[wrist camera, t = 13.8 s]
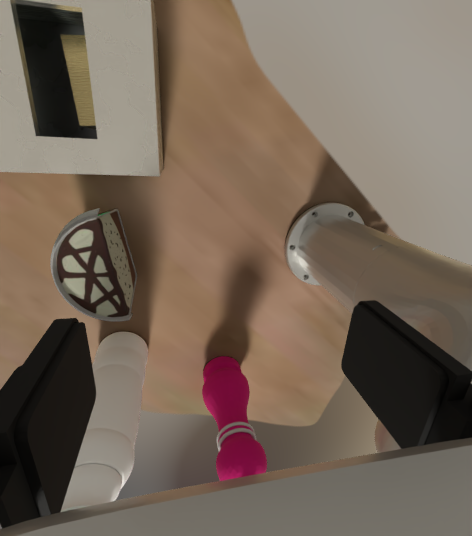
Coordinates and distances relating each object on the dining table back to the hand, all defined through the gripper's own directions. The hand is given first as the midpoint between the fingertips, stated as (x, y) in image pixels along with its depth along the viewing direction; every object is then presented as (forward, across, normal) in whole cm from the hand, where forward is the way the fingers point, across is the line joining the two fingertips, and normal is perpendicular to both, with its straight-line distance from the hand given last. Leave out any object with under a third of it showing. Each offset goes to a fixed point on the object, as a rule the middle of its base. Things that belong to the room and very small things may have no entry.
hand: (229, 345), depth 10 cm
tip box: (+30, +10, -11) cm, 34 cm away
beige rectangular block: (+27, +10, -15) cm, 32 cm away
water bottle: (+31, +10, +22) cm, 39 cm away
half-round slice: (+31, +11, +6) cm, 33 cm away
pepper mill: (+31, -5, +28) cm, 42 cm away
